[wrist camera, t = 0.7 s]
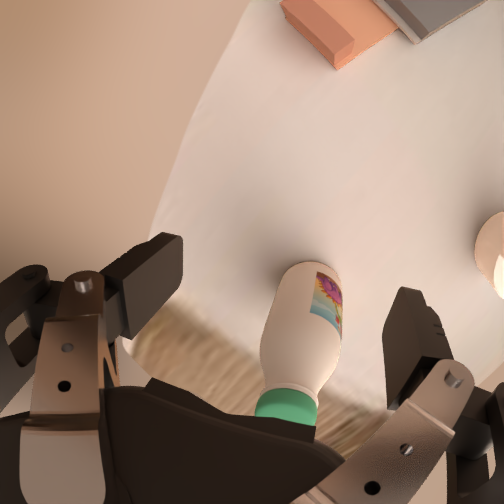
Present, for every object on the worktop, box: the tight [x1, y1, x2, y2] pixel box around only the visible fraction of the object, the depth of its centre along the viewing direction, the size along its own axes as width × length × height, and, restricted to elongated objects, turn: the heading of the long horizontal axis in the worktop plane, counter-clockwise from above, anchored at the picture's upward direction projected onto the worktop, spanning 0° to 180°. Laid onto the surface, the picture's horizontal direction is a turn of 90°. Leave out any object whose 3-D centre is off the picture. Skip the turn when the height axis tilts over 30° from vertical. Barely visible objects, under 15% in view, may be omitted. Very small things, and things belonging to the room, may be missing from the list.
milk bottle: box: [255, 262, 342, 426], centre depth 28 cm, size 8×8×20 cm
